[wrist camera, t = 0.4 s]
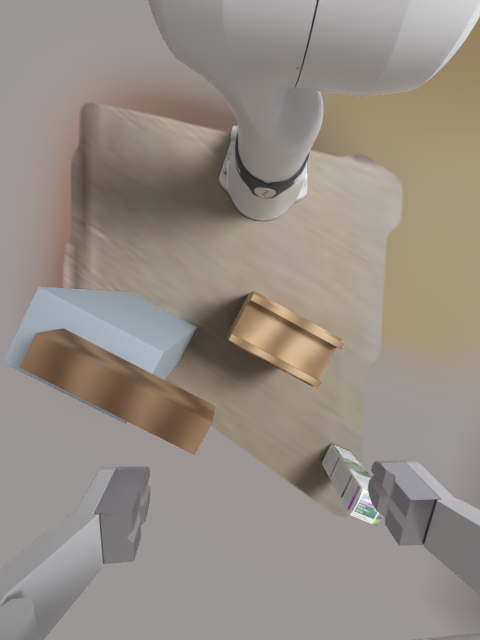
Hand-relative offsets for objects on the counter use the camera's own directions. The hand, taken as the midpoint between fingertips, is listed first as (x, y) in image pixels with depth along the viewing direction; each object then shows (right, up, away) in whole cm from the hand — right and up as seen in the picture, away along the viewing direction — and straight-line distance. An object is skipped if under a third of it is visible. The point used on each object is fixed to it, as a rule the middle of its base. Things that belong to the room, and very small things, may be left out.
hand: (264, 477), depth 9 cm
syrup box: (+22, -27, +50) cm, 61 cm away
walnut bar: (-14, -2, +21) cm, 25 cm away
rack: (+6, +4, +47) cm, 47 cm away
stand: (-20, +3, +46) cm, 50 cm away
